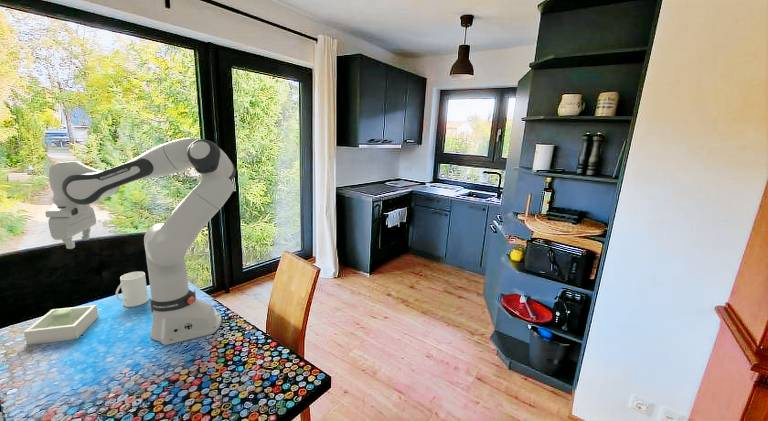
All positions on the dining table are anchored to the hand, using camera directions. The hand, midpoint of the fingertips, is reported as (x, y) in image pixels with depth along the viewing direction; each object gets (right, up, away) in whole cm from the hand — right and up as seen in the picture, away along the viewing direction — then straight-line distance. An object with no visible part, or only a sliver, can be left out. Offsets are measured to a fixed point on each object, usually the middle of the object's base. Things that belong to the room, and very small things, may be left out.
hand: (78, 243), depth 112 cm
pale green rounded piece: (-2, -30, -3) cm, 30 cm away
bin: (-2, -30, -3) cm, 31 cm away
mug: (+7, -27, +16) cm, 32 cm away
